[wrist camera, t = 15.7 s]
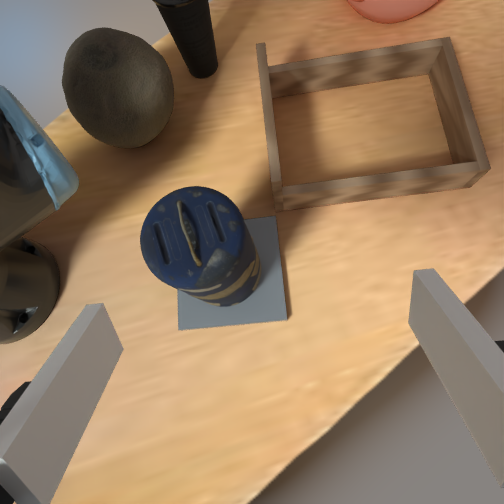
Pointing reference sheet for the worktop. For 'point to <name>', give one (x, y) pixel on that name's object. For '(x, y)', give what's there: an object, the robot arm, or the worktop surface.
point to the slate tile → (258, 303)
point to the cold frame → (368, 71)
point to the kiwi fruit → (117, 87)
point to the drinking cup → (191, 33)
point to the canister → (201, 246)
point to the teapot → (390, 9)
